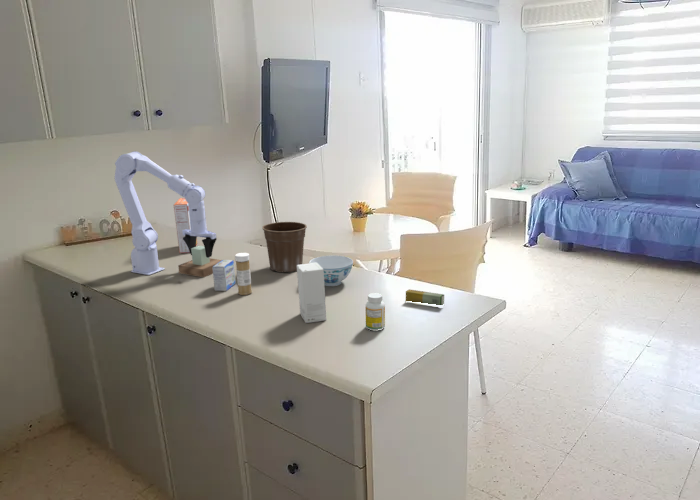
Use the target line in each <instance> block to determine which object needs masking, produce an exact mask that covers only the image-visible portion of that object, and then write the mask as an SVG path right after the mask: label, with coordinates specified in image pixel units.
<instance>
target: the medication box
mask: <svg viewBox="0 0 700 500" xmlns="http://www.w3.org/2000/svg"><path fill="white" fill-rule="evenodd" d="M406 301H412V302H421V303H428V304H436V305H443V304H444V305H445V294H443V293H437V292H431V291H429V292H428V291H422V290H416V289H411V288H410V289H407V290H406V291H405V302H406Z"/></svg>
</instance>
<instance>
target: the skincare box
mask: <svg viewBox="0 0 700 500" xmlns="http://www.w3.org/2000/svg"><path fill="white" fill-rule="evenodd" d="M296 276H297V289H298V300H299V313H300V316H301V318H302V319H303V321H304V322H305V324H310V323H317V322H323V321H327V307H326V306H327V305H326V291H325V289H326V288H325V285H324V270H323V268H322V267H321V266H320V265H319V264H318V263H317V262H316V263H309V262H308V263H302V264H300V265H297V270H296Z"/></svg>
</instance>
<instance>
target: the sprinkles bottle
mask: <svg viewBox="0 0 700 500" xmlns="http://www.w3.org/2000/svg"><path fill="white" fill-rule="evenodd" d="M234 260H235V261H234V262H235V268H236V269H235V270H236V279H237V288H238V289H237V290H238V291H237V293H238V294H239V295H241V296H248V295H251V294H252V293H253V292H252V278H251V268H250V253H248V252H238V253H236V254H235V255H234Z"/></svg>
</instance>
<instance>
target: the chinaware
mask: <svg viewBox="0 0 700 500" xmlns="http://www.w3.org/2000/svg"><path fill="white" fill-rule="evenodd" d="M316 262H317V263H318V264H319V265H320V266H321V267H322V268H323V270H324V287H325V286H327V287H336V286H340V285H341V284H342V282H343V281H344V280H345V279H346V278H347V277H348V276H349V275H350V273H351V271H352V268H353V265H354V260H353V259H352V258H350V257H348V256H345V255H333V254H332V255H322V256H318V257H314V258H312V259H310V260H309V262H308V263H316Z"/></svg>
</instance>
